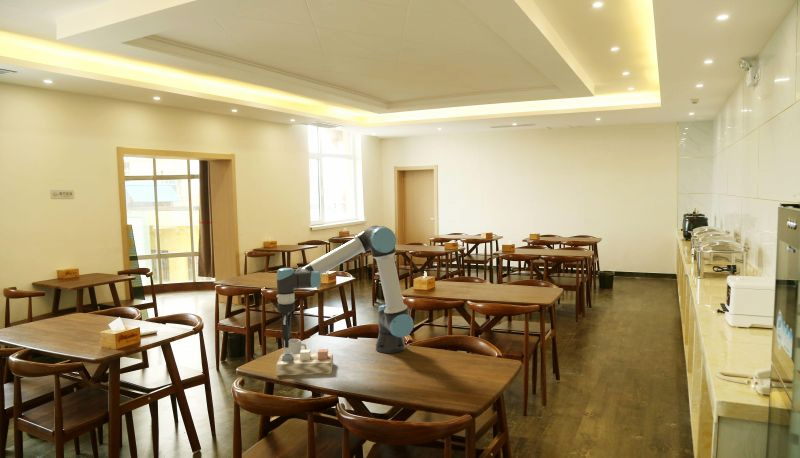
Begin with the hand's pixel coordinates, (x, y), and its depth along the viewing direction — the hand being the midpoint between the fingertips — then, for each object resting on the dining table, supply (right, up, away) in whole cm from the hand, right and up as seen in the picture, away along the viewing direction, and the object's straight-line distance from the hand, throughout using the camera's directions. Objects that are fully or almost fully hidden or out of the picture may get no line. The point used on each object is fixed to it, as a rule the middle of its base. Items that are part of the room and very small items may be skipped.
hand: (287, 353), depth 237 cm
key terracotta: (+16, -4, +1) cm, 17 cm away
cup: (0, -6, +20) cm, 21 cm away
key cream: (+8, -4, +1) cm, 9 cm away
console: (+8, -7, +1) cm, 11 cm away
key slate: (0, -5, 0) cm, 5 cm away
